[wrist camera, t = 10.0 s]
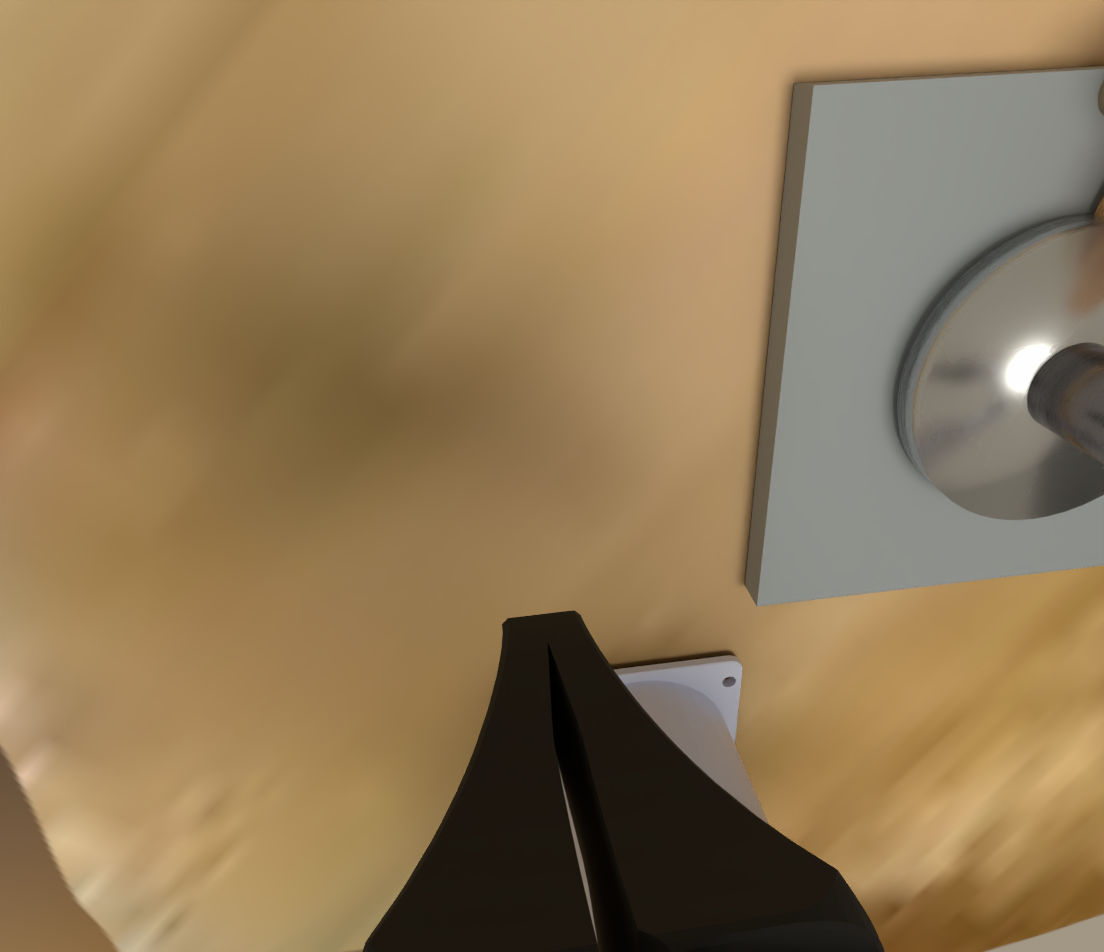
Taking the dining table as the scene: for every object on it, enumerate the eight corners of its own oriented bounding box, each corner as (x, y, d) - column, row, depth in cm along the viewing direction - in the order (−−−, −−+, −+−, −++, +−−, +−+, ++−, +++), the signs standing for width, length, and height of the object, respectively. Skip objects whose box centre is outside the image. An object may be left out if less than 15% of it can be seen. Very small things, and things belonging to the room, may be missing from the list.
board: (1206, 531, 29) (1235, 549, 28) (744, 585, 28) (756, 606, 26) (1421, 47, 21) (1472, 47, 20) (793, 83, 20) (813, 85, 19)
